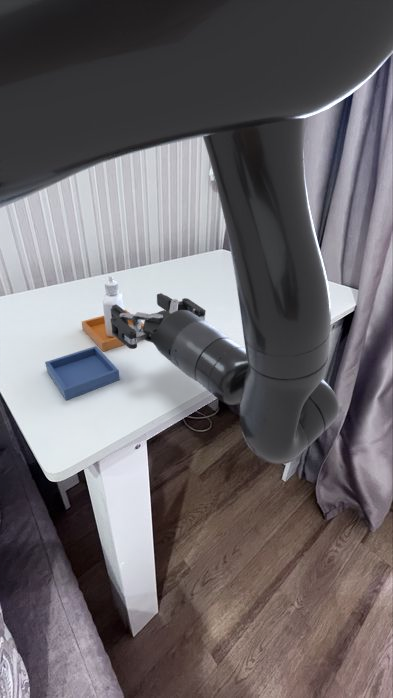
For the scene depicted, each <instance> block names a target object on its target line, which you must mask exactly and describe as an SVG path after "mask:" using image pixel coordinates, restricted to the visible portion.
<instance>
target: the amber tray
mask: <svg viewBox="0 0 393 698" xmlns="http://www.w3.org/2000/svg"><path fill="white" fill-rule="evenodd" d="M124 311H126V313H128V314H131V313H130V312H129V311H128V310H127V309H124ZM128 324H129V325H133V321H131V320H128ZM143 326H144V322H142V321H141V328H142V329H143ZM81 328H82V331H83V332H84V333H85V334H86V335H87V336H88V337H89V338H90V340H92V342H94V344H95V345H96V346H97V347H98V349H99V350H100V351H101V352H102V353H103V352H107V351H109V350H113V349H116V348H119V347H122V346H126V345H125V344H124V343H122V342H121V341H120V340H119V339H118V338H116V337H108V336H107V334H106V327H105V319H104V315H101V316H97V317H93V318H90V319H86V320H82V321H81Z"/></svg>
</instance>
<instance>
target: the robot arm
mask: <svg viewBox="0 0 393 698" xmlns="http://www.w3.org/2000/svg"><path fill="white" fill-rule="evenodd" d="M392 55H393V0H0V209H1V208H4V207H6V206H9V205H11V204H13V203H16V202H18V201H21V200H23V199H26V198H28V197H30V196H32V195H34V194H36V193H38V192H39V193H40V192H41V191H43V190H46V189H47V188H49V187H51V186H54V185H56V184H59V183H60V182H62V181H64V180H66V179H69V178H71V177H73V176H75V175H77V174H79V173H82V172H85V171H86V170H88V169H91V168H93V167H96V166H98V165H100V164H103V163H107V162H109V161H112V160H115V159H118V158H121V157H125V156H127V155H131V154H135V153H138V152H142V151H146V150H150V149H153V148H157V147H158V148H159V147H163V146H167V145H172V144H176V143H181V142H185V141H190V140H194V139H199V138H202V139H203V142H204V146H205V149H206V152H207V155H208V159H209V162H210V163H209V164H210V166H211V171H212V175H213V177H214V178H213V179H214V182H215V185H216V190H217V194H218V197H219V202H220V207H221V210H222V211H221V212H222V215H223V220H224V224H225V229H226V233H227V238H228V244H229V249H230V255H231V260H232V266H233V272H234V278H235V285H236V291H237V298H238V305H239V311H240V321H241V327H242V334H243V341H244V342H243V343H244V347H243V346H241V345H240V344H239V343H237V342H235V341H234V340H233V339H231V338H229V337H228V336H227V335H226V333H224V332H223V331H221V330H220V329H218V328H217V327H216V326H214V325H212V324H211V323H209V322H208V321H206V311H207V310H206V309H204V308H203V307H202V306H200V305H198V304H197V303H195V302H194V301H192V300H191V299H190V298H187V297H186V298H185V297H184V298H182V299H181V300H178V298H177V299H176V298H174V299H173V298H171V297H169V296H168V295H166V294H163V293H161V292H160V293H157V294H156V304H157V306H158V307H160V308H161V309H162V310H160V311H158V312H155V313H145V312H139V311H138V312H136V313H134V314H133V313H130V314H128V313H126V311H124V310H125V309H124V310H123V309H122V308H121V307H119V306H118V305H117V304H116V305H112V309H111V317H112V318H111V319H110V320H111V326H112V334H113V335H114V336H115V337H116V338H118V339H119V340H120V341H121V342H122V343H124V344H125V345H124V346H126V347H127V348H128V349H131V350H134V349H137V348H138V343H140V342H142V341H146V342H150V343H152V344H153V345H154V346H155V348H156V350H158V352H159V353H160V354H161V355H162V356H164V358H166V359H167V360H168V361H169V362H171V364H173V365H174V366H175V367H176V368H177V369H179V371H181V372H182V373H183V374H185V375H186V376H187V377H189V378H190V379H192V380H194V381H195V382H197V383H198V384H199V385H201V387H203V388H204V389H205V390H206V391H208V392H209V393H210V394H211V395H213V396H214V397H215V398H216V399H217V400H219V401H220V402H222V403H223V404H225V405H228V406H236V405H239V411H238V416H239V417H238V418H239V426H240V430H241V434H242V436H243V439H244V442H245V443H246V445H247V446H248V447H249V449H250V451H252V453H254V454H255V456H256V457H258V458H259V459H261V460H263V461H264V462H266V463H269V464H273V465H284V464H285V465H286V464H289V463H291V462H293V461H295V460H297V458H299V457H300V456H301V455H302V454H303V453H304V452H305V451H306V450H307V448H309V447H310V446H311V445H312V444H313V443H314V442H315V441H316V440H317V439H318V438H319V437H320V436H321V435H322V434H323V433H324V432H325V431H327V430H328V429H329V428H330V427H331V426H332V425H333V423H334V422H335V421H336V419H338V416H339V411H340V403H339V400H338V398H337V395H336V393H335V391H334V390H333V388H332V387H331V386H330V384H328V382H327V381H326V380H324V377H325V375H326V372H327V368H328V364H329V349H330V336H331V324H332V323H331V322H332V311H331V310H332V309H331V308H332V307H331V295H330V288H329V282H328V277H327V272H326V268H325V264H324V260H323V257H322V253H321V249H320V246H319V241H318V238H317V234H316V230H315V226H314V221H313V218H312V213H311V208H310V203H309V197H308V189H307V183H306V171H305V156H304V154H305V153H304V150H305V149H304V147H305V146H304V142H305V140H304V137H305V122H306V118H309V117H311V116H314V115H317V114H319V113H322V112H324V111H326V110H329V109H330V108H332V107H333V106H335V105H337V104H338V103H340V102H342V101H343V100H345V99H346V98H348V97H349V96H351V95H352V94H353V93H354V92H356V91H357V90H358V89H360V88H361V87H362V86H363V85H364V84H366V83H367V82H368V81H369V80H370V79H371V78H372V77H373V76H374V75H375V74H376V73H377V72H378V70H379V69H380V68H382V66H383V65H384V64H385V63H386V61H388V59H389V58H390V57H391V56H392ZM128 320H131V321H133V325H129V324H128ZM142 321H144V322H143V324H144V326H143V329H142V328H141V322H142Z"/></svg>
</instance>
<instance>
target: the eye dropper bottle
mask: <svg viewBox="0 0 393 698" xmlns="http://www.w3.org/2000/svg"><path fill="white" fill-rule="evenodd" d="M104 290H105V295H104V297H103V299H102V308H103V316H104V319H105V327H106V334H107V336H108V337H115V336H114V335H113V334H112V326H111V320H110V319H111V318H112V317H111V309H112V305H116V304H117V305H118V306H119V307H121V308H122V309H123V310H125V305H124V296H123V293H121V292H120V291H119V283H118V281H116V280H114V277H113V275H112V274H111V275H108V279H107V281H105V282H104Z"/></svg>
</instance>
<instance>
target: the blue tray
mask: <svg viewBox="0 0 393 698" xmlns="http://www.w3.org/2000/svg"><path fill="white" fill-rule="evenodd" d="M44 365H45V368H46V372H47V373H48V376H49V377H50V378H51V380H52V381H53V383H54V384H55V386H56V387H57V389H58V391H59V392H60V393H61V395H62V397H63V398H64V400H65V401H68V400H70V399H74V398H76V397H78V396H81V395H83V394H86V393H89V392H91V391H94V390H98V389H99V388H102V387H105V386H107V385H111V384H112V383H115V382H118V381H119V380H121V378H120V372H119V368H118V367H116V365H115V364H114V363H113V362H112V361H111V360H110V359H109V358H108V357H107V356H106V354H104V353H103V351H102V350H101V349H100V348H99V347H98V346H97V345H95V346H92V347H88V348H85V349H82V350H79V351H76V352H73V353H70V354H67V355H63V356H60V357H56V358H53V359H51V360H47V361H45V362H44Z"/></svg>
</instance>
